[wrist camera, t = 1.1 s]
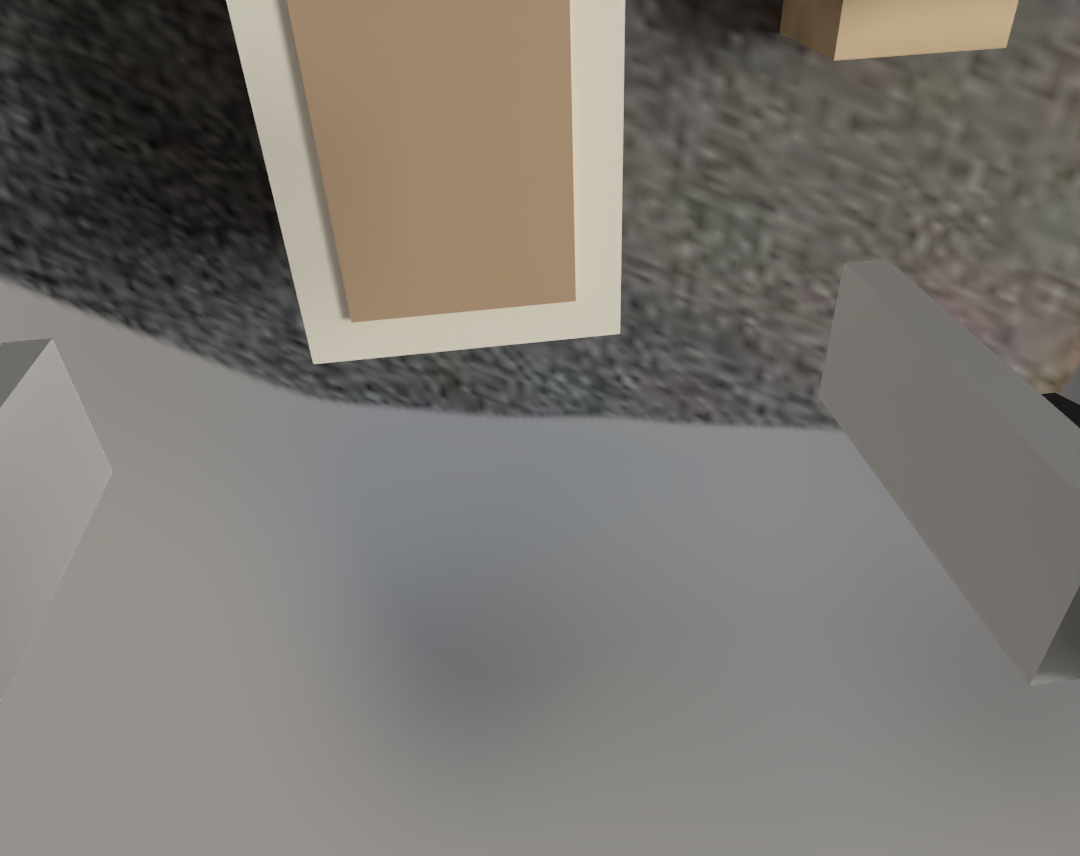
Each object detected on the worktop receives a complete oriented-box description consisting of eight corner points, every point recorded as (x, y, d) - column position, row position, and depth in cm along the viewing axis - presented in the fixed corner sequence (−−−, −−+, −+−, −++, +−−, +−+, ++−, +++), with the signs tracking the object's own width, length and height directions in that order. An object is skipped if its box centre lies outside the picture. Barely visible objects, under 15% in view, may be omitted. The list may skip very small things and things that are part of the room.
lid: (227, -81, 21) (204, -74, 19) (608, -104, 22) (629, -99, 20) (320, 328, 28) (312, 368, 26) (606, 301, 29) (621, 338, 26)
